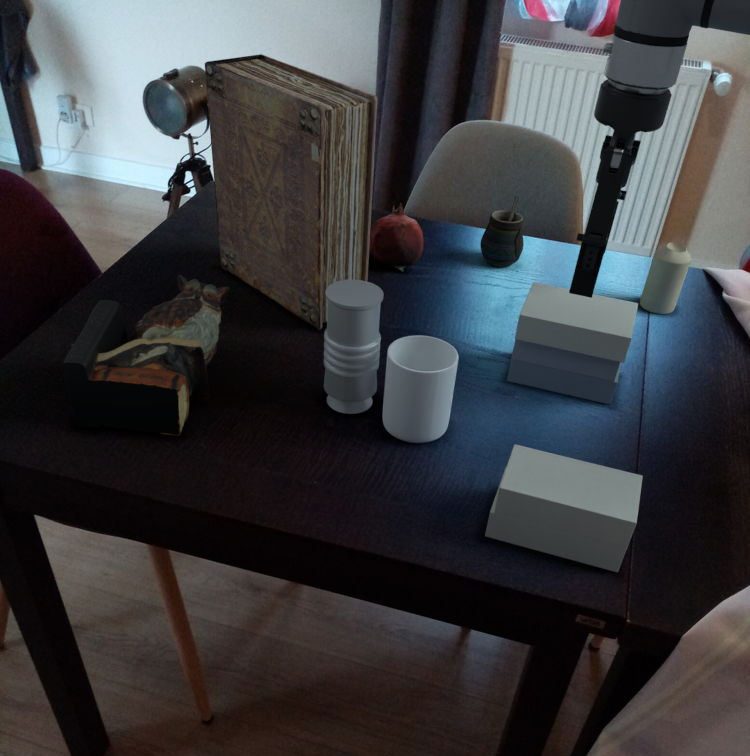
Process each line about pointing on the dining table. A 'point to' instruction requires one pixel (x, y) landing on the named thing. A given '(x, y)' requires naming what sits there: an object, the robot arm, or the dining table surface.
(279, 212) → the book
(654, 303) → the cream cylinder
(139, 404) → the bookend
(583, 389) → the grey stack
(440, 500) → the dining table surface
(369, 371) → the grey ribbed cylinder
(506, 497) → the white stack
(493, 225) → the mate gourd
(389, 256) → the fruit
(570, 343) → the white box lid
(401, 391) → the mug
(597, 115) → the robot arm
